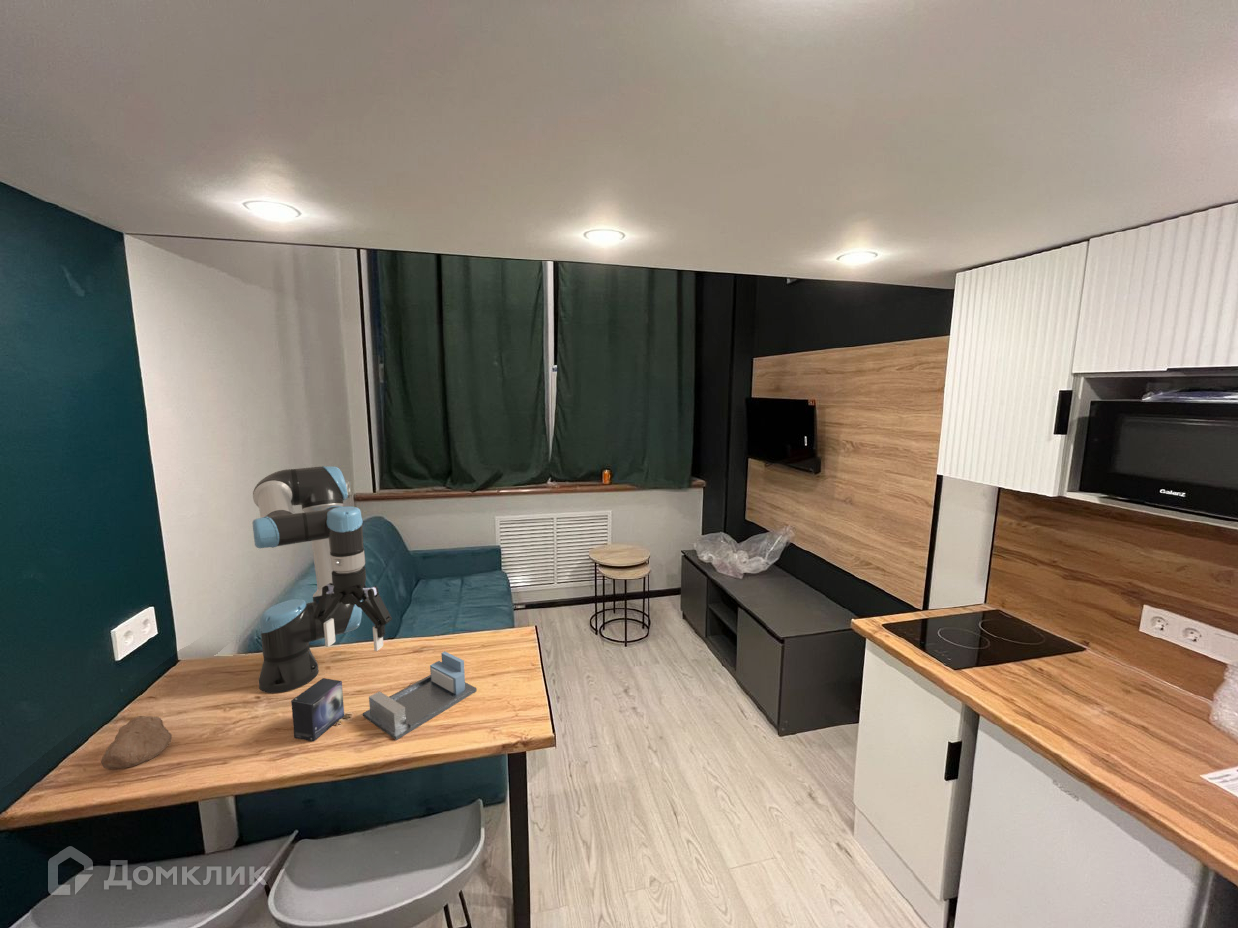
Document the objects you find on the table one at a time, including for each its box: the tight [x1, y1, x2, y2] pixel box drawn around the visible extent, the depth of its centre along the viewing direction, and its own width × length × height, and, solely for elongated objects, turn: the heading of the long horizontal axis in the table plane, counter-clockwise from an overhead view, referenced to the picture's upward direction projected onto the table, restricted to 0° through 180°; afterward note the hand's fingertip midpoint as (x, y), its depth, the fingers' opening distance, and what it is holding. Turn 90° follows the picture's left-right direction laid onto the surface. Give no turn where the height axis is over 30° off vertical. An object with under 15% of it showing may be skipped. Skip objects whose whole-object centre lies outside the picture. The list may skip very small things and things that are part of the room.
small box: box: [290, 677, 345, 742], centre depth 127 cm, size 11×6×10 cm, turn 168°
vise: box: [362, 674, 477, 741], centre depth 137 cm, size 16×25×6 cm, turn 145°
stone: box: [100, 715, 173, 770], centre depth 118 cm, size 12×9×10 cm
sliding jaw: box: [429, 651, 466, 695], centre depth 144 cm, size 12×5×8 cm, turn 55°
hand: (354, 646), depth 127 cm, fingers open, 13 cm apart
